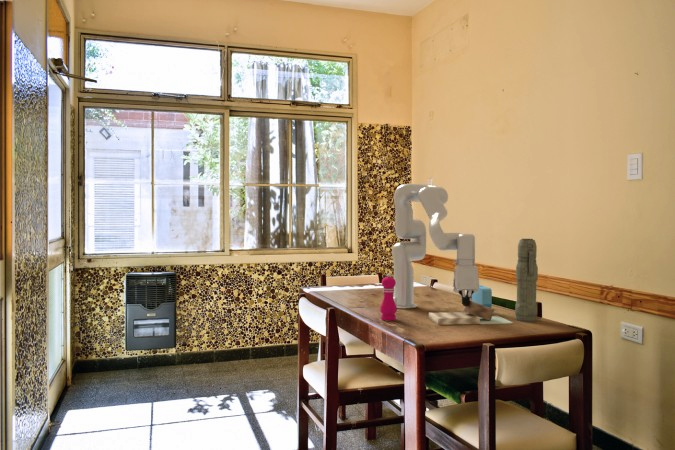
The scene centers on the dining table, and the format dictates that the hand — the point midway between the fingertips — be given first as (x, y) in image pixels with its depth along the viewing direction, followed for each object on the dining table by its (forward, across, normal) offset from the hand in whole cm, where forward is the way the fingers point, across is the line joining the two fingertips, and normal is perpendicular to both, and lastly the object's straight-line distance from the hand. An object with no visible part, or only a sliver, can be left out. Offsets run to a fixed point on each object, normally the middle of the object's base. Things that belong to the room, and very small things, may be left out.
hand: (465, 305), depth 232 cm
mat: (+6, +11, +1) cm, 13 cm away
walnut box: (+4, +5, 0) cm, 7 cm away
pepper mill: (+6, -32, +6) cm, 33 cm away
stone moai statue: (+7, +27, 0) cm, 28 cm away
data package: (+7, +14, +18) cm, 23 cm away
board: (+6, -5, 0) cm, 8 cm away
